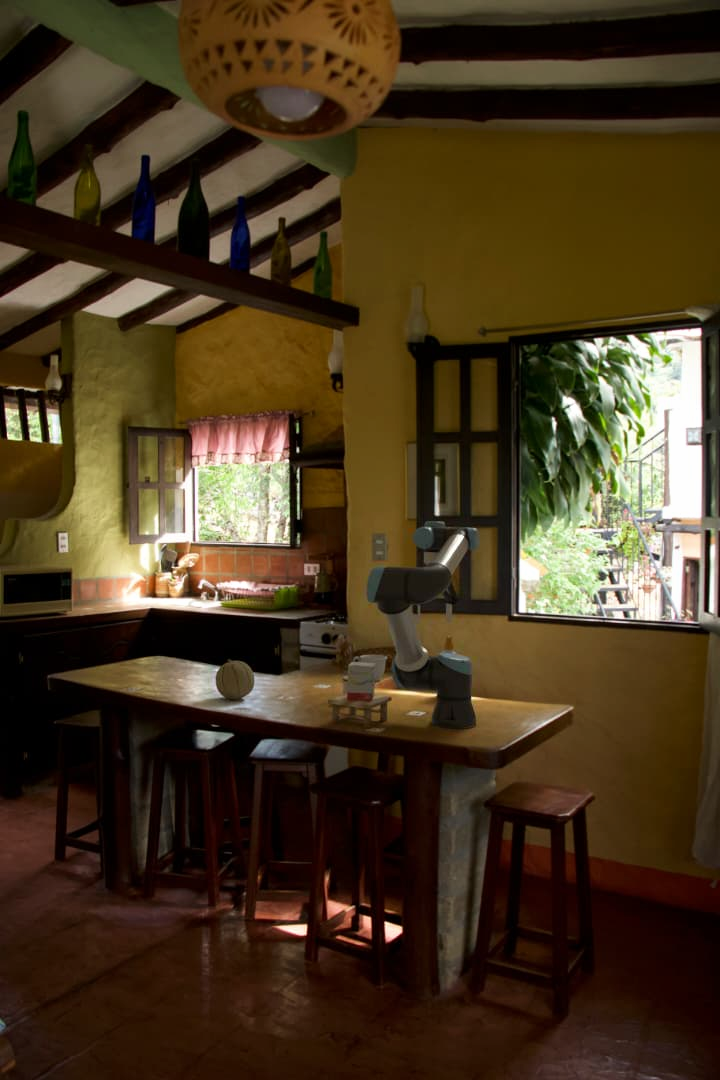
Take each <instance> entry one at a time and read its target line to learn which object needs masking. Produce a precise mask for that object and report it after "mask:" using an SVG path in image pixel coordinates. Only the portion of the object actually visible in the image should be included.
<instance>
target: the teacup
mask: <svg viewBox="0 0 720 1080" xmlns="http://www.w3.org/2000/svg"><path fill="white" fill-rule="evenodd" d="M387 659H388V656H386V655H382V654H362V655H360V656H354V657H353V658H352V662H356V660H358V662H363V663H375V682H378V681H381V677H383V675H384V674H385V669H386V662H387Z"/></svg>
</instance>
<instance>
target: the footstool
mask: <svg viewBox="0 0 720 1080" xmlns="http://www.w3.org/2000/svg"><path fill="white" fill-rule="evenodd" d="M392 699H393V697H392V696H388V695H387V696H386V695H379V694H374V698H373V699H372V701H361V700H347V693H346V694H343V693H342V694H341V695H338V696H335V697H332V698H329V699H327V704H330V705H332V715H331V719H332V720H331V723H332V724H333V725H339V724H340V718H348V719H355V720H360V721H361V720H362V721H363V728H364V729H371V728H372V713H374V714H375V713H376V714H379V721H380V722H388V702H392ZM340 706H346V707H348V713H344V712H340V709H341V708H340ZM376 707H379V708H376ZM357 711H361V712H363V715H359V714H357Z"/></svg>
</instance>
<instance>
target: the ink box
mask: <svg viewBox="0 0 720 1080" xmlns="http://www.w3.org/2000/svg"><path fill="white" fill-rule="evenodd" d="M347 676H348V687H347V700H361V701H372V699H373V698H374V695H375V684H376V683H375V682H376V681H375V663H363V662H359V661H355V662H353V661H351V662H350V663H349V664H348V665H347Z"/></svg>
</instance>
